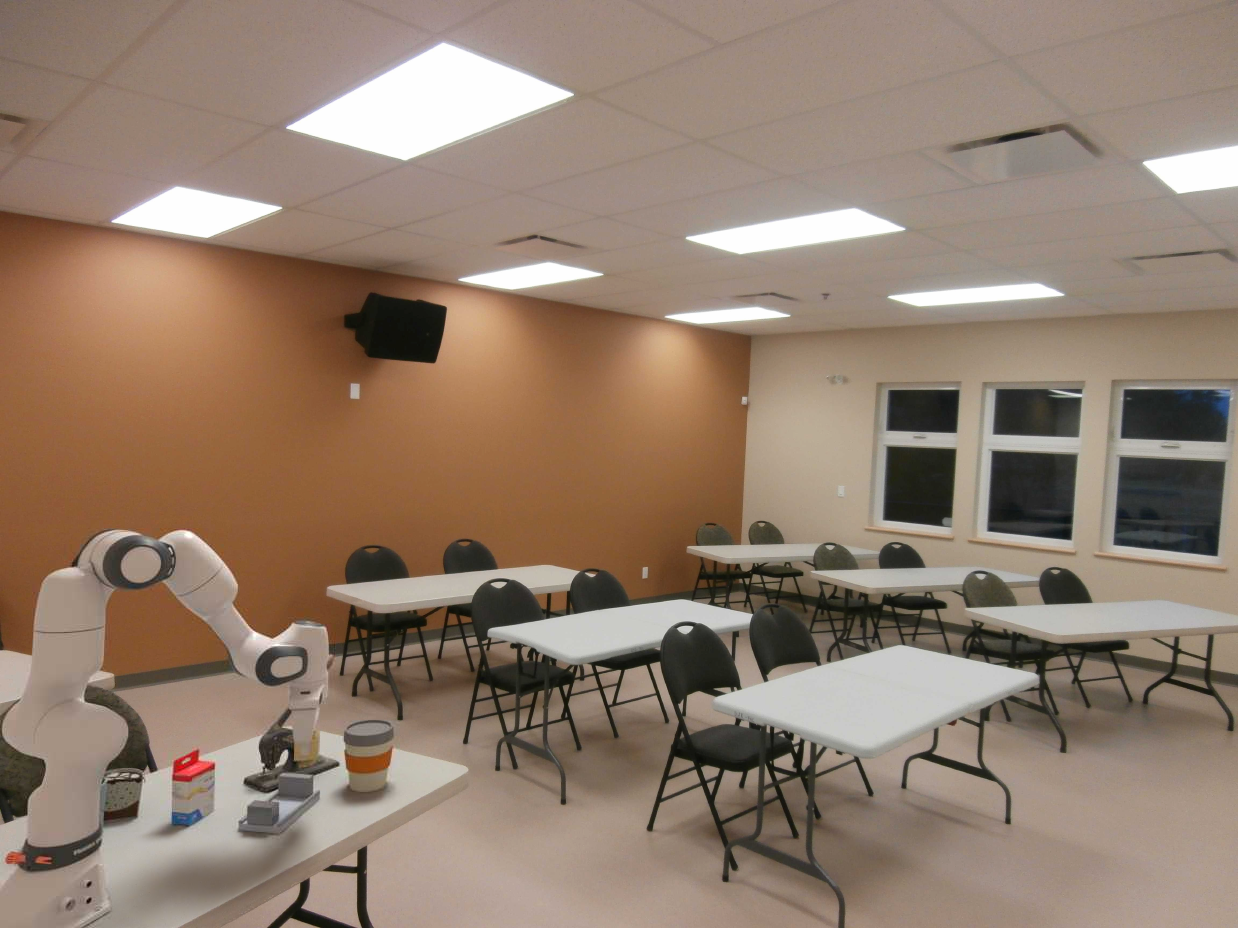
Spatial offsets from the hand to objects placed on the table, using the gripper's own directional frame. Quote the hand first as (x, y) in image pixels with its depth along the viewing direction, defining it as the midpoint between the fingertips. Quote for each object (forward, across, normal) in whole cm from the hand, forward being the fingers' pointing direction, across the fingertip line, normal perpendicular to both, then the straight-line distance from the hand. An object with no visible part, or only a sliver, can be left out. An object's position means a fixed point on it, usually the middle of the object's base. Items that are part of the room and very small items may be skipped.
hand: (306, 748), depth 183 cm
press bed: (+17, -5, -6) cm, 19 cm away
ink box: (+17, -8, -25) cm, 32 cm away
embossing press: (+17, -29, -6) cm, 34 cm away
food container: (+17, -13, -43) cm, 48 cm away
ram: (+15, +1, -9) cm, 18 cm away
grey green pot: (+17, -3, -47) cm, 50 cm away
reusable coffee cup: (+17, -18, +13) cm, 28 cm away
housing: (+2, 0, 0) cm, 2 cm away
